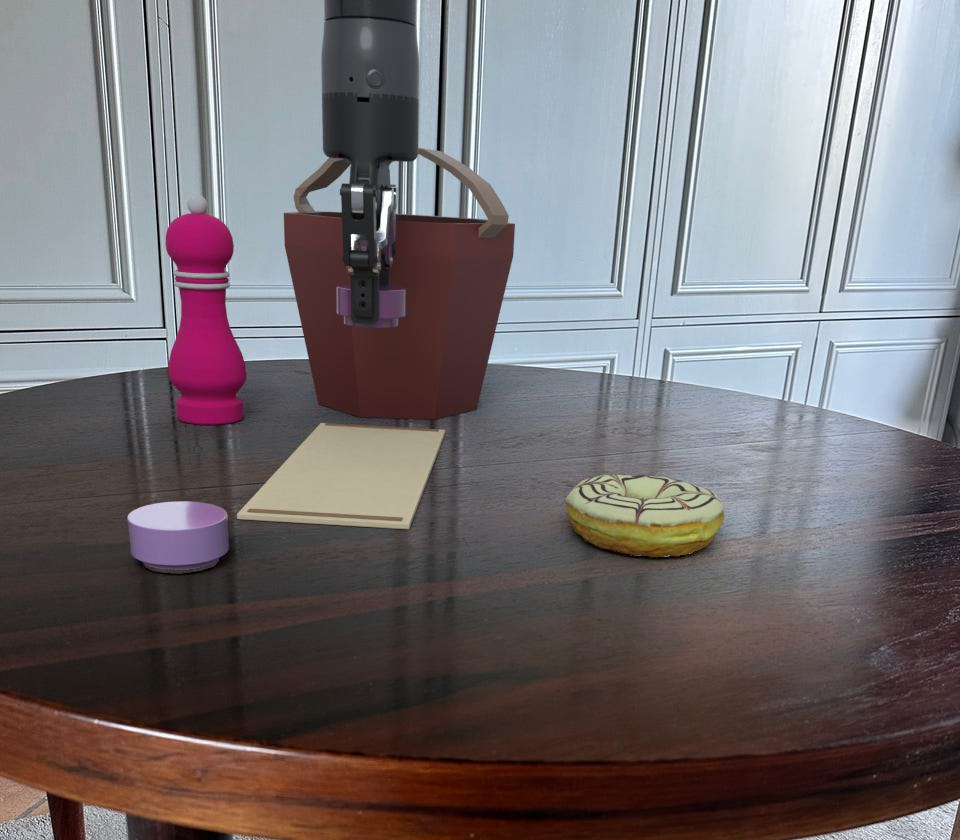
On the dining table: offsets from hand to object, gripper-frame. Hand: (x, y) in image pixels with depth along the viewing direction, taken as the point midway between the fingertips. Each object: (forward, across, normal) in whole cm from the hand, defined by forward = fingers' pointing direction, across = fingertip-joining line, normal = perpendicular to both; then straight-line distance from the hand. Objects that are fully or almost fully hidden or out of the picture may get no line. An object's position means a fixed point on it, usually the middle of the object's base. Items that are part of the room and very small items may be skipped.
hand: (370, 317), depth 86 cm
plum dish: (+1, 0, 0) cm, 1 cm away
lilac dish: (+11, +31, -7) cm, 34 cm away
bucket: (+12, -22, 0) cm, 25 cm away
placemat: (+11, +7, 0) cm, 13 cm away
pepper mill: (+11, -9, -17) cm, 22 cm away
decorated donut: (+12, +21, +22) cm, 33 cm away
